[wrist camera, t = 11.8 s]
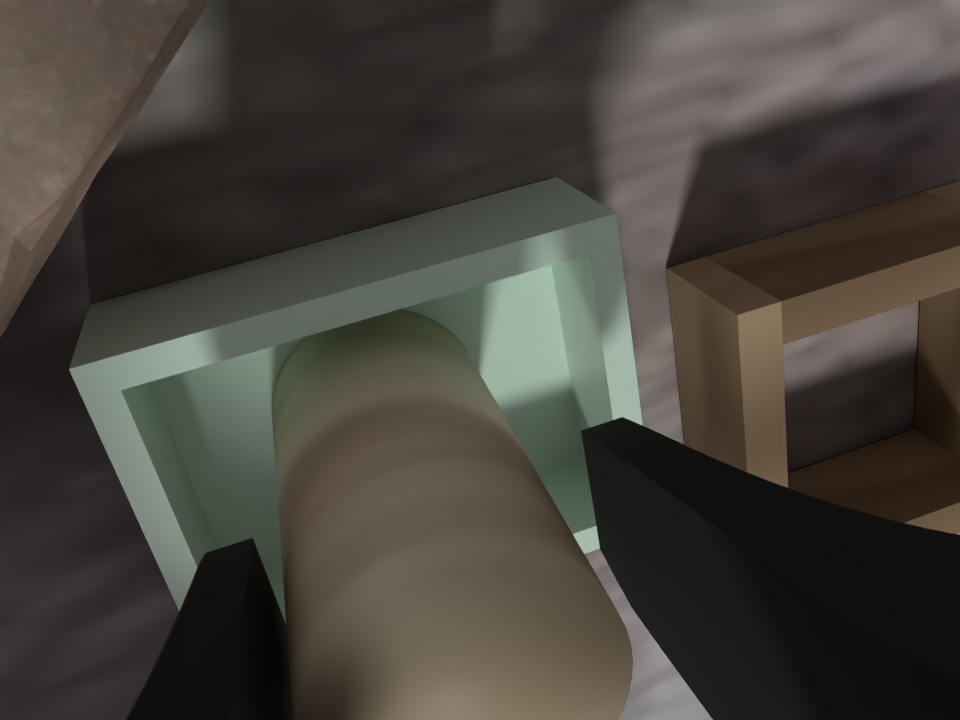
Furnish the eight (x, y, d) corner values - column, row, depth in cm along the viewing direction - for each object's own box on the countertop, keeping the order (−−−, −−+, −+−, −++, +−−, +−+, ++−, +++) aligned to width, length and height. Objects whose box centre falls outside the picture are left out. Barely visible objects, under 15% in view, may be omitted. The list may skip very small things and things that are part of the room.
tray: (599, 459, 18) (655, 528, 16) (210, 588, 17) (212, 684, 14) (556, 177, 15) (616, 213, 13) (89, 304, 14) (69, 369, 12)
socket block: (943, 447, 21) (1031, 505, 18) (693, 536, 20) (755, 609, 17) (959, 181, 18) (1066, 212, 15) (666, 268, 17) (737, 314, 14)
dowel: (497, 457, 16) (652, 758, 10) (308, 519, 16) (351, 872, 10) (453, 280, 15) (605, 511, 9) (241, 344, 14) (242, 634, 8)
